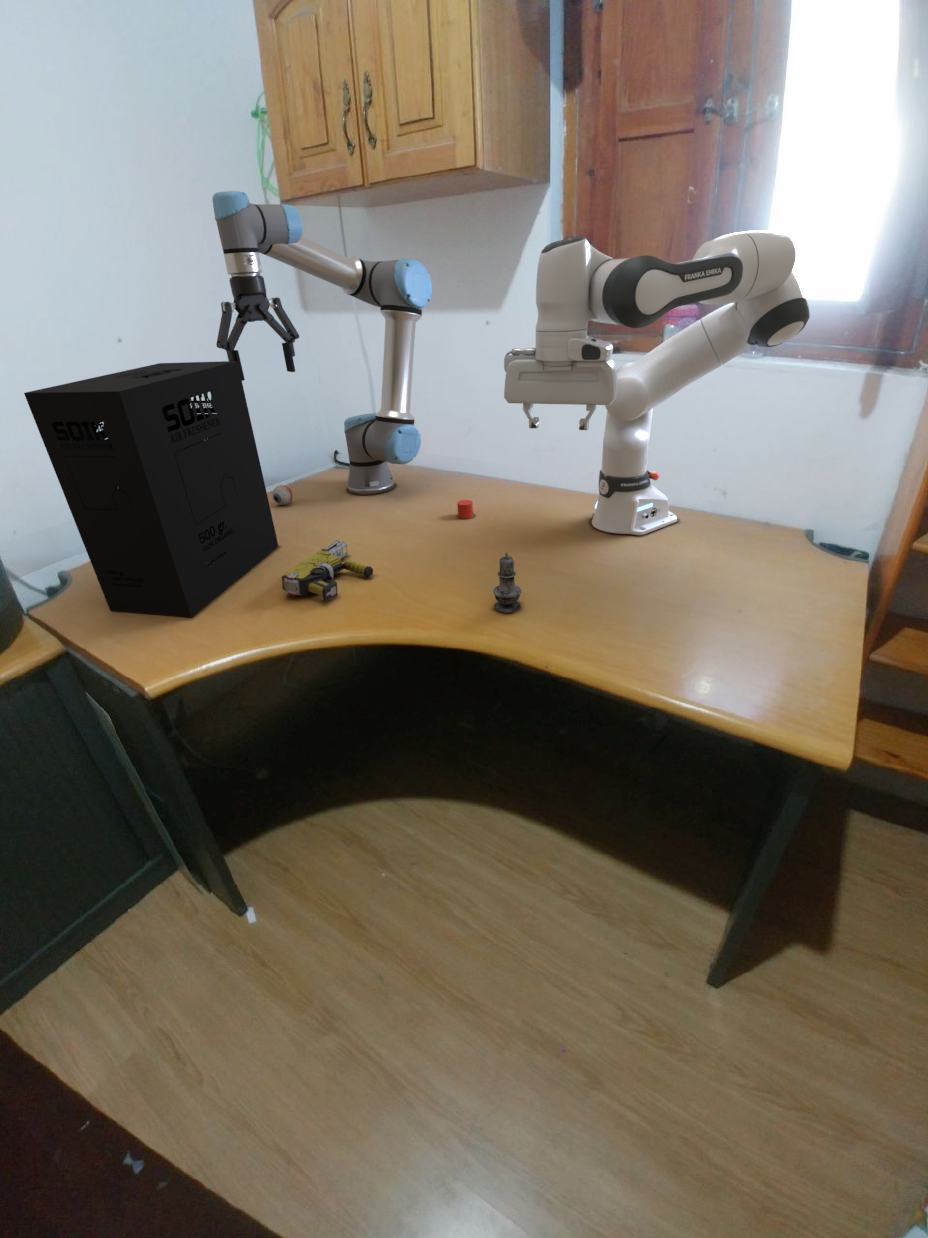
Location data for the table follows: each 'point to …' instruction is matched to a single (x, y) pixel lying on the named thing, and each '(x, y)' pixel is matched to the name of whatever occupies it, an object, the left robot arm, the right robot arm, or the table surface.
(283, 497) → the eyeball
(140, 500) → the cardboard box
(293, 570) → the toy gun
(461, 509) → the can
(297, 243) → the left robot arm
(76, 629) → the table surface
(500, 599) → the dark grey tapered piece
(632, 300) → the right robot arm
